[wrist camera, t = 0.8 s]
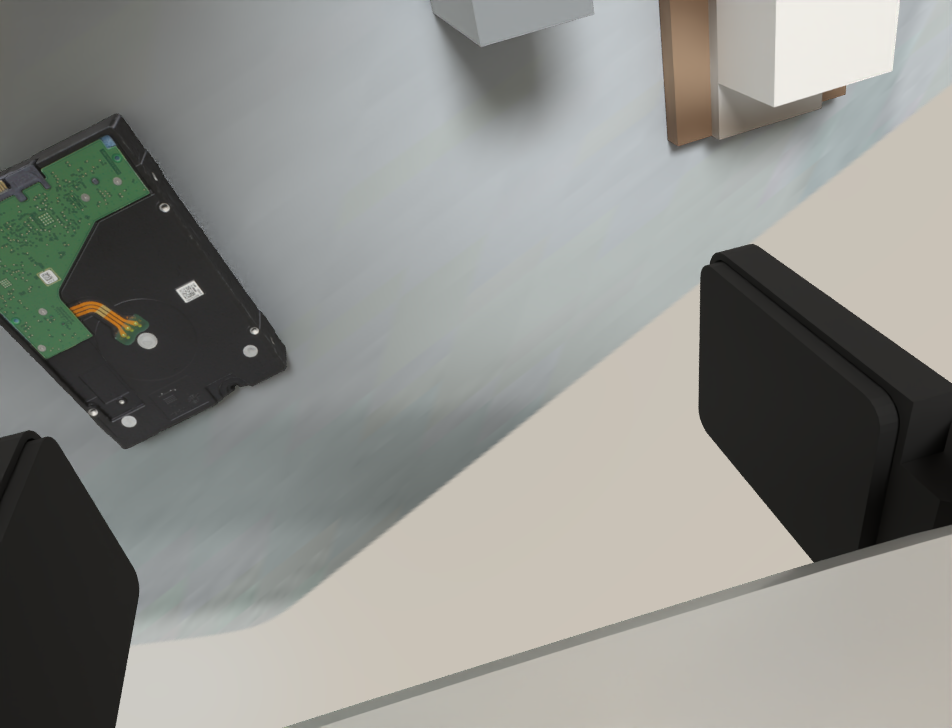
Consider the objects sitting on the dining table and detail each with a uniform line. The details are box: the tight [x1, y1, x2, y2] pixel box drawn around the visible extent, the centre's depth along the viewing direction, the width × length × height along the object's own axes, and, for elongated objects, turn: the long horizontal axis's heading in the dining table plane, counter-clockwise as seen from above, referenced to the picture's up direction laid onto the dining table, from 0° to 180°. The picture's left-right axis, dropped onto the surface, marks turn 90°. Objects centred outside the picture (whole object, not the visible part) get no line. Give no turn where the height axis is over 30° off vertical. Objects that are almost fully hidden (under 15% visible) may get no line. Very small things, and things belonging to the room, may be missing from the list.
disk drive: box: [0, 114, 287, 449], centre depth 38 cm, size 10×3×15 cm
